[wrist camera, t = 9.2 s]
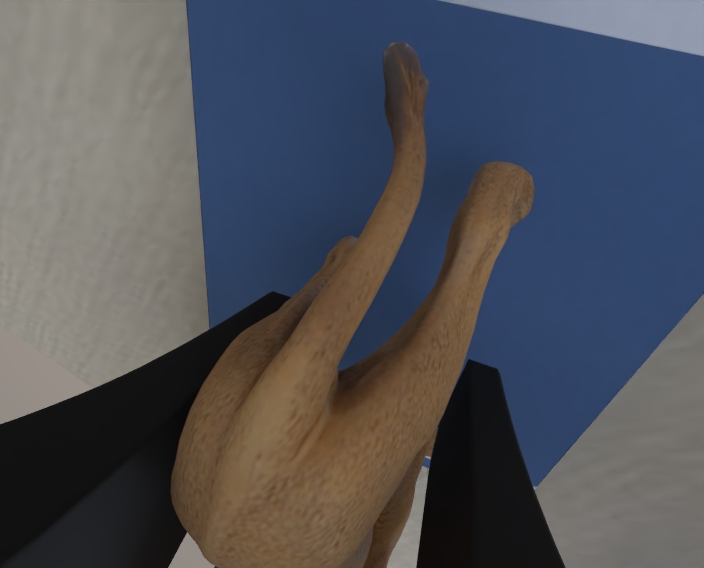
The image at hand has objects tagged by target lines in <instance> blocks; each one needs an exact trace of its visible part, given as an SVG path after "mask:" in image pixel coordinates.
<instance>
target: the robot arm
mask: <svg viewBox="0 0 704 568" xmlns="http://www.w3.org/2000/svg"><path fill="white" fill-rule="evenodd" d="M290 298H292V297H289V296H286V295H283V294H280V293H277V292H274V291H272V292H270V293H268V294H266V295H265V296H263V297H261V298H260V299H258V300H257V301H255V302H253V303H252V304H250V305H249V306H247V307H245V308H244V309H242V310H241V311H239V312H237V313H236V314H234V315H233V316H231V317H229V318H228V319H226V320H224V321H223V322H221V323H220V324H218V325H216V326H214V327H213V328H211V329H209V330H208V331H206V332H204V333H202V334H201V335H199V336H197V337H196V338H194V339H192V340H190V341H189V342H187V343H185V344H183V345H182V346H180V347H178V348H176V349H174V350H172V351H170V352H168V353H166V354H164V355H163V356H161V357H159V358H157V359H155V360H153V361H151V362H149V363H147V364H145V365H143V366H141V367H139V368H137V369H135V370H133V371H131V372H129V373H127V374H125V375H123V376H121V377H118V378H116V379H114V380H112V381H110V382H107V383H105V384H103V385H101V386H98V387H96V388H94V389H91V390H89V391H87V392H84V393H82V394H79V395H77V396H74V397H72V398H69V399H67V400H64V401H62V402H59V403H57V404H54V405H52V406H49V407H47V408H44V409H41V410H39V411H36V412H34V413H31V414H28V415H26V416H23V417H20V418H17V419H15V420H12V421H9V422H6V423H3V424H0V568H168V567H169V565H170V563H171V561H172V559H173V558H174V555H175V554H176V552H177V550H178V548H179V546H180V544H181V542H182V541H183V539H184V537H185V535H186V533H187V531H186V529H185V528H184V527H183V526H182V524H181V522H180V520H179V518H178V516H177V514H176V512H175V509H174V507H173V504H172V499H171V491H170V489H171V475H172V471H173V467H174V464H175V460H176V455H177V450H178V445H179V440H180V437H181V434H182V431H183V428H184V425H185V422H186V420H187V417H188V414H189V411H190V409H191V407H192V405H193V403H194V400H195V398H196V396H197V394H198V392H199V390H200V388H201V387H202V385H203V383H204V381H205V380H206V378H207V377H208V375H209V374H210V372H211V371H212V369H213V368H214V366H215V365H216V363H217V362H218V360H219V359H220V357H221V356H222V355H223V353H224V352H225V350H226V349H227V348H228V346H229V345H230V344H231V342H232V341H233V340H234V339H235V338H236V337H237V336H238V335H239V334H240V333H242V332H243V331H244V330H246V329H247V328H249V327H251V326H252V325H254V324H256V323H257V322H259V321H261V320H263V319H264V318H266V317H268V316H269V315H271V314H273V313H275V312H277V311H278V310H279V309H280V308H281V307H282V306H283V304H284V303H285V302H287V301H288V300H289V299H290ZM417 568H565V565H564V563H563V561H562V559H561V556H560V554H559V552H558V549H557V547H556V544H555V542H554V540H553V537H552V535H551V532H550V530H549V527H548V525H547V522H546V519H545V517H544V514H543V512H542V509H541V507H540V504H539V501H538V499H537V496H536V493H535V490H534V488H533V485H532V482H531V479H530V476H529V473H528V470H527V467H526V464H525V461H524V458H523V455H522V452H521V449H520V446H519V443H518V440H517V436H516V433H515V430H514V426H513V422H512V419H511V415H510V412H509V408H508V404H507V400H506V396H505V392H504V388H503V384H502V379H501V374H500V372H499V371H498V369H497V368H494V367H491V366H488V365H485V364H482V363H479V362H476V361H474V360H471V359H468V361H467V363H466V365H465V367H464V369H463V371H462V374H461V376H460V378H459V380H458V382H457V384H456V386H455V388H454V390H453V392H452V394H451V396H450V399H449V402H448V404H447V407H446V409H445V412H444V414H443V416H442V418H441V420H440V422H439V426H438V430H437V434H436V439H435V443H434V447H433V451H432V455H431V460H430V467H429V474H428V482H427V489H426V497H425V505H424V513H423V521H422V528H421V536H420V544H419V552H418V560H417Z"/></svg>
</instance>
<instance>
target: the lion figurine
mask: <svg viewBox="0 0 704 568" xmlns="http://www.w3.org/2000/svg"><path fill="white" fill-rule="evenodd" d="M383 72H384V79H385V92H386V95H385V103H384V107H385V116H386V119H387V122H388V125H389V127H390V129H391V134H392V139H393V144H394V159H393V167H392V171H391V175H390V178H389V180H388V183H387V185H386V187H385V190H384V192H383V194H382V196H381V198H380V200H379V202H378V203H377V205H376V207H375V209H374V211H373V213H372V215H371V216H370V218H369V220H368V222H367V224H366V226H365V227H364V229H363V231H362V233H361V234H360V236H359V237H358V238H356V237H354V236H347V237H344V238H342V239H341V240H340V241H339V242H338V243H337V244H336V245H335V246H334V248H333V249H332V250H331V251H330V252H329V253H328V254H327V257H326V260H325V263H324V265H323V266H322V268H321V269H320V271H319V272H318V273H317V274H315V275H314V276H313V277H312V278H311V279H310V281H309V282H308V283H307V284H306V285H305V286H304V287H303V288H302V289H301V290H300V291H299V292H298V293H297V294H295V295H294V296H293V297H292V298H290V299H289V300H288V301H287V302H285V303H284V304H283V306H282V307H281V308H280V309H279V310H278V311H277V312H275V313H273V314H271V315H269V316H268V317H266V318H264V319H263V320H261V321H259V322H257V323H256V324H254V325H252V326H251V327H249V328H247V329H246V330H244V331H243V332H242V333H240V334H239V335H238V336H237V337H236V338H235V339H234V340H233V341H232V342H231V344H230V345H229V346H228V348H227V349H226V350H225V352H224V353H223V355H222V356H221V357H220V359H219V360H218V362H217V363H216V365H215V366H214V368H213V369H212V371H211V372H210V374H209V375H208V377H207V378H206V380H205V381H204V383H203V385H202V387H201V388H200V390H199V392H198V394H197V396H196V398H195V400H194V403H193V405H192V407H191V409H190V411H189V414H188V417H187V420H186V422H185V425H184V428H183V431H182V434H181V437H180V440H179V445H178V450H177V455H176V460H175V464H174V467H173V471H172V475H171V489H170V491H171V499H172V504H173V507H174V509H175V512H176V514H177V516H178V518H179V520H180V522H181V524H182V526H183V527H184V528H185V529H186V531H187V532H188V533H189V535H190V536H191V537H192V538H193V540H194V541H195V542H196V543H197V545H198V546H199V548H200V550H201V552H202V554H203V556H204V557H205V558H206V559H207V560H208V561H209V562H210V563H211V564H213V565H215V567H214V568H386V567H387V563H388V560H389V557H390V555H391V553H392V551H393V549H394V547H395V545H396V543H397V542H398V540H399V538H400V536H401V534H402V531H403V529H404V527H405V525H406V522H407V520H408V518H409V515H410V511H411V508H412V504H413V498H414V492H415V485H416V481H417V478H418V475H419V472H420V470H421V467H422V464H423V461H424V459H425V456H428V457H431V455H432V451H433V447H434V443H435V439H436V434H437V430H438V427H437V425H438V424H439V422H440V420H441V418H442V416H443V414H444V412H445V409H446V407H447V404H448V402H449V399H450V396H451V394H452V391H453V389H454V386H455V384H456V381H457V379H458V377H459V374H460V372H461V369H462V366H463V363H464V360H465V357H466V354H467V351H468V348H469V345H470V341H471V338H472V335H473V332H474V329H475V324H476V320H477V316H478V312H479V309H480V305H481V302H482V298H483V295H484V291H485V288H486V285H487V282H488V280H489V277H490V274H491V271H492V268H493V266H494V263H495V260H496V258H497V256H498V255H499V253H500V251H501V249H502V248H503V246H504V244H505V242H506V240H507V238H508V234H509V230H510V228H511V227H513V226H514V225H515V224H516V223H518V222H519V221H521V220H522V219H524V218H525V217H526V216H527V215H528V214H529V212H530V210H531V207H532V204H533V200H534V190H535V188H534V182H533V178H532V176H531V175H530V174H529V173H528V172H527V171H526V170H525V169H524V168H522V167H520V166H518V165H516V164H513V163H509V162H500V161H494V162H489V163H485V164H484V165H482V166H481V167H480V168H479V169H478V170H477V172H476V174H475V175H474V177H473V179H472V182H471V185H470V187H469V190H468V193H467V196H466V198H465V199H464V201H463V202H462V204H461V206H460V208H459V209H458V211H457V213H456V215H455V217H454V220H453V222H452V225H451V228H450V232H449V236H448V240H447V244H446V254H445V258H444V261H443V264H442V267H441V270H440V272H439V275H438V278H437V280H436V283H435V285H434V287H433V288H432V290H431V291H430V293H429V294H428V296H427V297H426V299H425V300H424V301H423V302H422V304H421V305H420V306H419V307H418V309H417V310H416V311H415V313H414V314H413V315H412V317H411V318H410V319H409V320H408V321H407V322H406V323H405V324H404V325H403V326H402V327H401V328H400V329H399V330H398V331H397V332H396V333H395V334H394V335H393V336H392V337H391V338H390V339H389V340H388V341H387V342H385V343H384V344H383V345H382V346H380V347H379V348H378V349H377V350H375V351H374V352H373V353H371V354H370V355H369V356H367V357H365V358H364V359H362V360H361V361H359V362H357V363H356V364H354V365H352V366H350V367H348V368H346V369H343V370H340V371H338V367H337V366H338V364H339V362H340V360H341V358H342V356H343V354H344V352H345V350H346V348H347V346H348V344H349V342H350V340H351V338H352V336H353V335H354V333H355V331H356V329H357V328H358V326H359V324H360V322H361V321H362V319H363V317H364V315H365V314H366V312H367V310H368V308H369V307H370V305H371V303H372V301H373V299H374V297H375V295H376V294H377V292H378V290H379V288H380V286H381V284H382V282H383V280H384V278H385V276H386V274H387V272H388V270H389V268H390V267H391V265H392V263H393V261H394V259H395V256H396V254H397V252H398V250H399V248H400V246H401V244H402V242H403V239H404V237H405V235H406V233H407V231H408V228H409V226H410V223H411V221H412V218H413V216H414V213H415V211H416V208H417V206H418V203H419V201H420V197H421V192H422V188H423V182H424V176H425V169H426V137H425V129H424V110H425V103H426V97H427V93H428V80H427V79H426V77H425V76H424V74H423V73H422V70H421V66H420V62H419V58H418V55H417V54H416V52H415V51H414V49H413V48H412V47H411V46H410V45H408V44H407V43H406V42H396V43H391V44H390V45H389V46H388V47H387V48H386V49H385V51H384V54H383Z"/></svg>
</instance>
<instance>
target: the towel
mask: <svg viewBox="0 0 704 568" xmlns="http://www.w3.org/2000/svg"><path fill="white" fill-rule="evenodd" d="M186 4H187V18H188V32H189V46H190V60H191V73H192V87H193V101H194V115H195V129H196V143H197V157H198V171H199V185H200V199H201V213H202V227H203V241H204V255H205V269H206V283H207V297H208V311H209V325H210V329H211V328H213V327H214V326H216V325H218V324H220V323H221V322H223V321H224V320H226V319H228V318H229V317H231V316H233V315H234V314H236V313H237V312H239V311H241V310H242V309H244V308H245V307H247V306H249V305H250V304H252V303H253V302H255V301H257V300H258V299H260V298H261V297H263V296H265V295H266V294H268V293H270V292H272V291H274V292H277V293H280V294H283V295H286V296H289V297H293V296H294V295H295V294H297V293H298V292H299V291H300V290H301V289H302V288H303V287H304V286H305V285H306V284H307V283H308V282H309V281H310V279H311V278H312V277H313V276H314V275H315V274H317V273H318V272H319V271H320V269H321V268H322V266H323V265H324V263H325V260H326V257H327V254H328V253H329V252H330V251H331V250H332V249H333V248H334V246H335V245H336V244H337V243H338V242H339V241H340V240H341V239H342V238H344V237H347V236H354V237H356V238H358V237H359V236H360V234H361V233H362V231H363V229H364V227H365V226H366V224H367V222H368V220H369V218H370V216H371V215H372V213H373V211H374V209H375V207H376V205H377V203H378V202H379V200H380V198H381V196H382V194H383V192H384V190H385V187H386V185H387V183H388V180H389V178H390V175H391V171H392V167H393V159H394V144H393V139H392V134H391V129H390V127H389V125H388V122H387V119H386V116H385V107H384V103H385V95H386V92H385V79H384V72H383V54H384V51H385V49H386V48H387V47H388V46H389V45H390V44H391V43H396V42H406V43H407V44H408V45H410V46H411V47H412V48H413V49H414V51H415V52H416V54H417V55H418V58H419V62H420V66H421V70H422V73H423V74H424V76H425V77H426V79H427V80H428V93H427V97H426V103H425V110H424V129H425V137H426V169H425V176H424V182H423V188H422V192H421V197H420V201H419V203H418V206H417V208H416V211H415V213H414V216H413V218H412V221H411V223H410V226H409V228H408V231H407V233H406V235H405V237H404V239H403V242H402V244H401V246H400V248H399V250H398V252H397V254H396V256H395V259H394V261H393V263H392V265H391V267H390V268H389V270H388V272H387V274H386V276H385V278H384V280H383V282H382V284H381V286H380V288H379V290H378V292H377V294H376V295H375V297H374V299H373V301H372V303H371V305H370V307H369V308H368V310H367V312H366V314H365V315H364V317H363V319H362V321H361V322H360V324H359V326H358V328H357V329H356V331H355V333H354V335H353V336H352V338H351V340H350V342H349V344H348V346H347V348H346V350H345V352H344V354H343V356H342V358H341V360H340V362H339V364H338V366H337V367H338V371H340V370H343V369H346V368H348V367H350V366H352V365H354V364H356V363H357V362H359V361H361V360H362V359H364V358H365V357H367V356H369V355H370V354H371V353H373V352H374V351H375V350H377V349H378V348H379V347H380V346H382V345H383V344H384V343H385V342H387V341H388V340H389V339H390V338H391V337H392V336H393V335H394V334H395V333H396V332H397V331H398V330H399V329H400V328H401V327H402V326H403V325H404V324H405V323H406V322H407V321H408V320H409V319H410V318H411V317H412V315H413V314H414V313H415V311H416V310H417V309H418V307H419V306H420V305H421V304H422V302H423V301H424V300H425V299H426V297H427V296H428V294H429V293H430V291H431V290H432V288H433V287H434V285H435V283H436V280H437V278H438V275H439V272H440V270H441V267H442V264H443V261H444V258H445V254H446V244H447V240H448V236H449V232H450V228H451V225H452V222H453V220H454V217H455V215H456V213H457V211H458V209H459V208H460V206H461V204H462V202H463V201H464V199H465V198H466V196H467V193H468V190H469V187H470V185H471V182H472V179H473V177H474V175H475V174H476V172H477V170H478V169H479V168H480V167H481V166H482V165H484V164H485V163H489V162H494V161H500V162H509V163H513V164H516V165H518V166H520V167H522V168H524V169H525V170H526V171H527V172H528V173H529V174H530V175H531V176H532V178H533V182H534V188H535V190H534V200H533V204H532V207H531V210H530V212H529V214H528V215H527V216H526V217H525V218H524V219H522V220H521V221H519V222H518V223H516V224H515V225H514V226H513V227H511V228H510V230H509V234H508V238H507V240H506V242H505V244H504V246H503V248H502V249H501V251H500V253H499V255H498V256H497V258H496V260H495V263H494V266H493V268H492V271H491V274H490V277H489V280H488V282H487V285H486V288H485V291H484V295H483V298H482V302H481V305H480V309H479V312H478V316H477V320H476V324H475V329H474V332H473V335H472V338H471V341H470V345H469V348H468V351H467V354H466V357H465V360H464V363H463V366H462V369H461V372H460V374H459V377H458V379H457V381H456V384H457V382H458V380H459V378H460V376H461V374H462V371H463V369H464V367H465V365H466V363H467V361H468V359H471V360H474V361H476V362H479V363H482V364H485V365H488V366H491V367H494V368H497V369H498V371H499V372H500V374H501V379H502V384H503V388H504V392H505V396H506V400H507V404H508V408H509V412H510V415H511V419H512V422H513V426H514V430H515V433H516V436H517V440H518V443H519V446H520V449H521V452H522V455H523V458H524V461H525V464H526V467H527V470H528V473H529V476H530V479H531V482H532V485H533V488H534V490H535V489H536V487H537V486H538V485H539V483H540V482H541V481H542V480H543V479H544V478H545V476H546V475H547V474H548V473H549V472H550V471H551V469H552V468H553V467H554V466H555V465H556V464H557V463H558V461H559V460H560V459H561V458H562V457H563V456H564V454H565V453H566V452H567V451H568V450H569V449H570V447H571V446H572V445H573V444H574V443H575V442H576V441H577V439H578V438H579V437H580V436H581V435H582V434H583V432H584V431H585V430H586V429H587V428H588V427H589V425H590V424H591V423H592V422H593V421H594V420H595V419H596V417H597V416H598V415H599V414H600V413H601V412H602V410H603V409H604V408H605V407H606V406H607V405H608V404H609V402H610V401H611V400H612V399H613V398H614V397H615V395H616V394H617V393H618V392H619V391H620V390H621V388H622V387H623V386H624V385H625V384H626V383H627V382H628V380H629V379H630V378H631V377H632V376H633V375H634V373H635V372H636V371H637V370H638V369H639V368H640V366H641V365H642V364H643V363H644V362H645V361H646V360H647V358H648V357H649V356H650V355H651V354H652V353H653V351H654V350H655V349H656V348H657V347H658V346H659V344H660V343H661V342H662V341H663V340H664V339H665V338H666V336H667V335H668V334H669V333H670V332H671V331H672V329H673V328H674V327H675V326H676V325H677V324H678V322H679V321H680V320H681V319H682V318H683V317H684V316H685V314H686V313H687V312H688V311H689V310H690V309H691V307H692V306H693V305H694V304H695V303H696V302H697V300H698V299H699V298H700V297H701V296H702V295H703V294H704V0H186ZM456 384H455V386H456ZM455 386H454V388H455ZM453 390H454V389H453ZM452 392H453V391H452ZM438 426H439V424H438V425H437V427H438ZM430 460H431V457H428V456H425V459H424V461H423V464H422V466H425V467H428V468H429V467H430Z"/></svg>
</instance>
